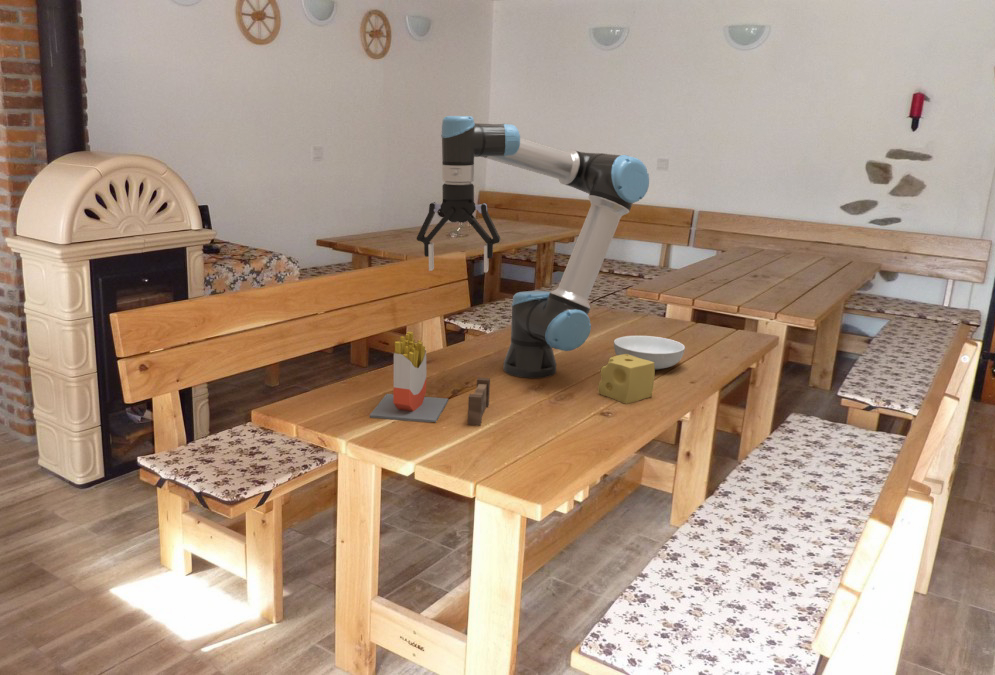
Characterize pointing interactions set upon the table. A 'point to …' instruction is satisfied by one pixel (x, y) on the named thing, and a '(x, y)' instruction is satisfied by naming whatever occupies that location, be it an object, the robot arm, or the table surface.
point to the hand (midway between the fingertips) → (458, 270)
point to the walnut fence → (478, 401)
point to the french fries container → (409, 373)
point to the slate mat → (423, 413)
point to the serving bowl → (651, 349)
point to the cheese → (627, 378)
